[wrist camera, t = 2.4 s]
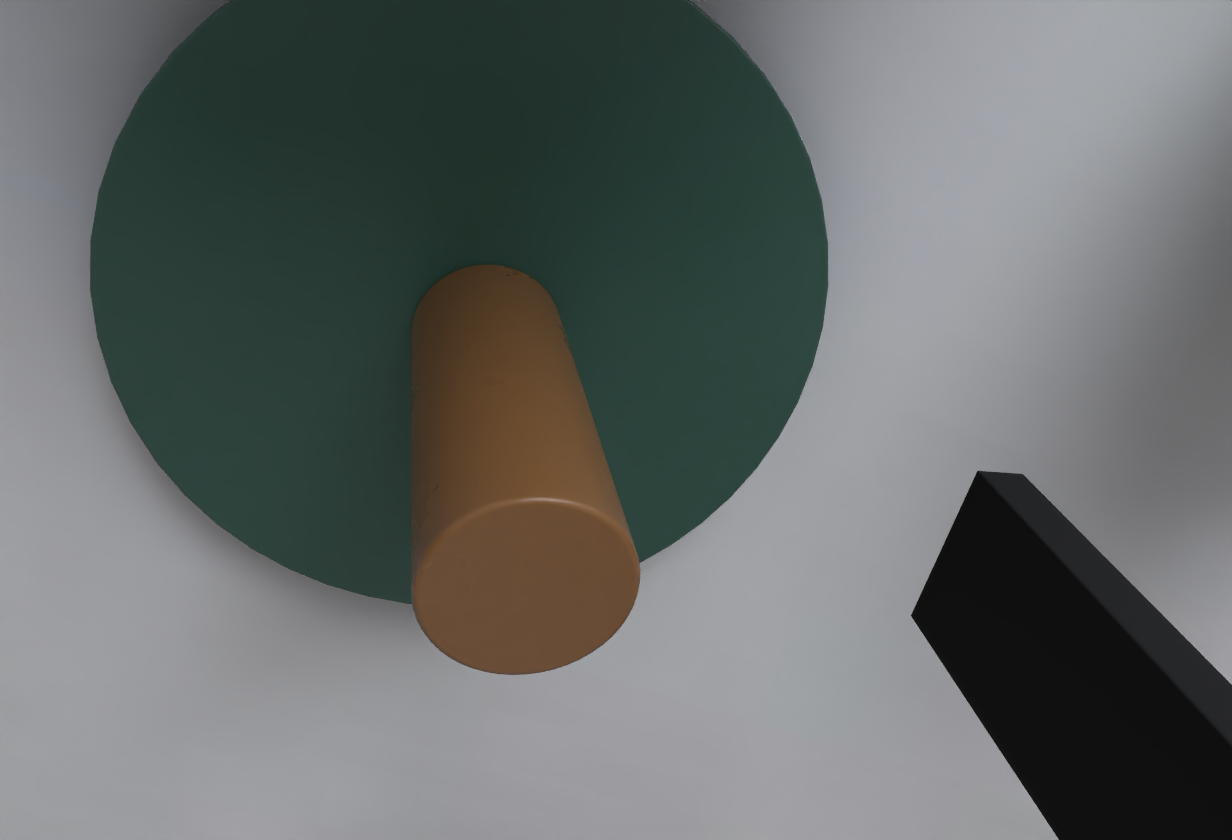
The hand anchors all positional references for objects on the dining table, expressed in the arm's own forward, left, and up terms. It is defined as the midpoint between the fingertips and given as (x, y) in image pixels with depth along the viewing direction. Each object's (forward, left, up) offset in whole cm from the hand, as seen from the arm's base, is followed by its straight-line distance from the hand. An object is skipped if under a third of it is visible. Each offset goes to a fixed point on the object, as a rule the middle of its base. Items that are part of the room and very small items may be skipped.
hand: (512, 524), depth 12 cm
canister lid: (0, 0, -7) cm, 7 cm away
